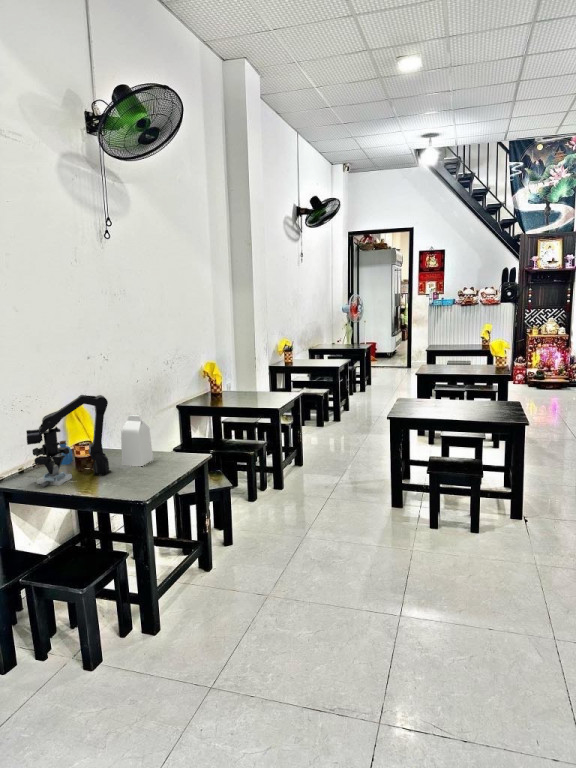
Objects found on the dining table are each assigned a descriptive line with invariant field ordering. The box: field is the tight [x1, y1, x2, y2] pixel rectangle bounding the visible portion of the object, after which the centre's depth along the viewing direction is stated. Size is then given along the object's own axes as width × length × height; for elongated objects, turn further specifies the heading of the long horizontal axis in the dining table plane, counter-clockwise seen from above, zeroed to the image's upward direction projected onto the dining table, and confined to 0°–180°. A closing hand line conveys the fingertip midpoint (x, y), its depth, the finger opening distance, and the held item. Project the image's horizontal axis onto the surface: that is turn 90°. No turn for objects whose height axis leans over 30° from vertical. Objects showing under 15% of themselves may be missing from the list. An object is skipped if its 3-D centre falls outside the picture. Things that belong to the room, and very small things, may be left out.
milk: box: [120, 414, 154, 467], centre depth 281 cm, size 12×12×26 cm
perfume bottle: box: [59, 440, 73, 466], centre depth 285 cm, size 6×6×12 cm
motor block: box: [36, 471, 73, 489], centre depth 256 cm, size 12×14×4 cm
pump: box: [49, 464, 60, 477], centre depth 258 cm, size 4×4×5 cm
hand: (54, 472), depth 258 cm, fingers closed on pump, 4 cm apart
